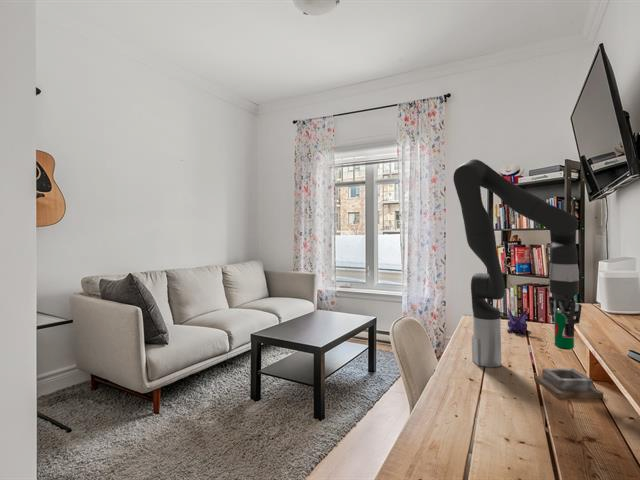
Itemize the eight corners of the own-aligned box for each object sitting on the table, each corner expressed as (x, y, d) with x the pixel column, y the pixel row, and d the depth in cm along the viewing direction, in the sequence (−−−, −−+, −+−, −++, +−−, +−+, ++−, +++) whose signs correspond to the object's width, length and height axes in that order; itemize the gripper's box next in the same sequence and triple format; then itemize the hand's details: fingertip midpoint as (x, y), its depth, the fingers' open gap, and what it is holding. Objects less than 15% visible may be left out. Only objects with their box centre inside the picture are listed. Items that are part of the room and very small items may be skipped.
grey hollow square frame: (556, 398, 109) (556, 382, 109) (534, 380, 122) (534, 366, 122) (603, 398, 108) (603, 382, 108) (575, 380, 121) (575, 366, 121)
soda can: (564, 351, 112) (564, 311, 111) (550, 346, 117) (550, 307, 116) (578, 349, 113) (578, 309, 113) (563, 344, 118) (563, 306, 117)
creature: (504, 335, 174) (504, 309, 174) (508, 326, 189) (508, 302, 189) (526, 338, 169) (526, 311, 169) (529, 328, 184) (528, 303, 184)
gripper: (539, 275, 122) (539, 327, 122) (563, 281, 107) (564, 340, 108) (563, 275, 121) (564, 327, 121) (591, 281, 107) (592, 340, 107)
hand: (564, 333), depth 115 cm, fingers closed on soda can, 5 cm apart
